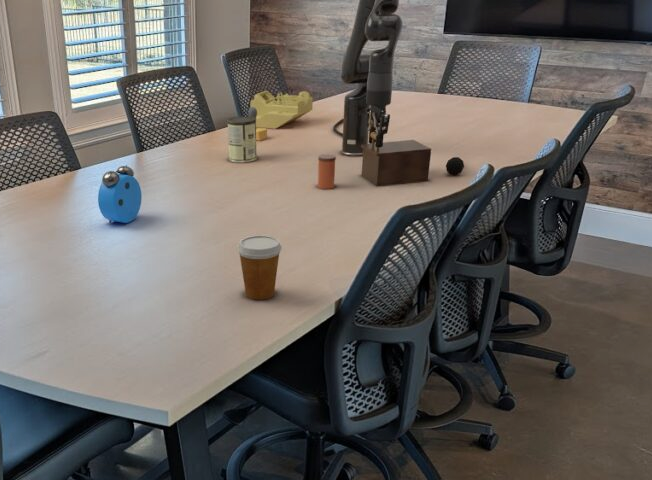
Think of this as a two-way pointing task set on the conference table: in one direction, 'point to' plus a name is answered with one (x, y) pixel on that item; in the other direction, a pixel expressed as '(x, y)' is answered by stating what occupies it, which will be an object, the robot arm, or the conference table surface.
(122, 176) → the alarm clock
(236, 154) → the coffee can
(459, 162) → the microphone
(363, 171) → the chest
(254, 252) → the disposable coffee cup
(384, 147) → the lid
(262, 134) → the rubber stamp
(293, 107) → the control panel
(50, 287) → the conference table surface
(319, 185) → the canister
